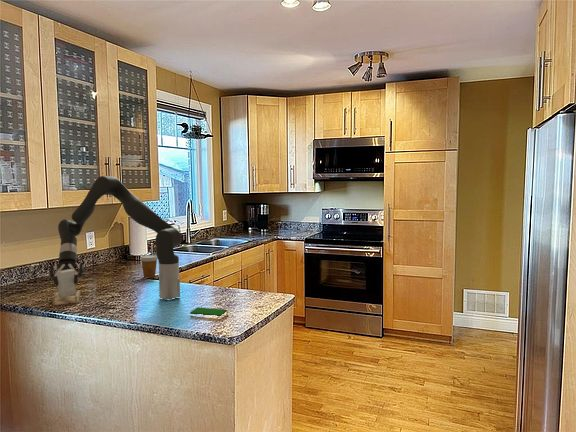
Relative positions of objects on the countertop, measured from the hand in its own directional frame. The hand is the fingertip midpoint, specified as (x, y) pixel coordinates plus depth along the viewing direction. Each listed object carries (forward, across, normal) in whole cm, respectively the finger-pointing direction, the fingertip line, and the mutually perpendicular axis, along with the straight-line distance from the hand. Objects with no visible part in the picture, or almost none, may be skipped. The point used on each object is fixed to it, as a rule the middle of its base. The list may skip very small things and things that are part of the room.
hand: (65, 284), depth 189 cm
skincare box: (+3, 0, +6) cm, 6 cm away
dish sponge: (+36, +58, -24) cm, 73 cm away
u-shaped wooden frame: (+5, 0, +7) cm, 8 cm away
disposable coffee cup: (-19, +38, +31) cm, 53 cm away
